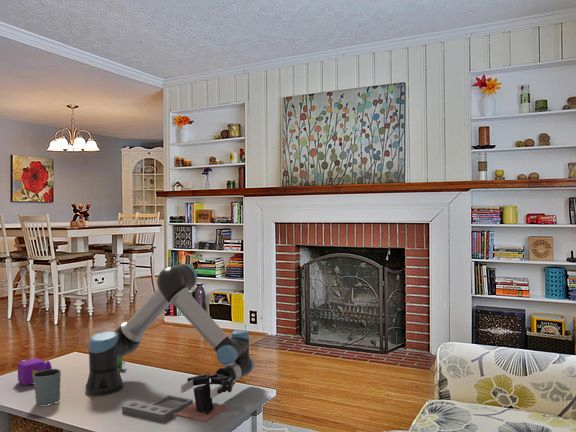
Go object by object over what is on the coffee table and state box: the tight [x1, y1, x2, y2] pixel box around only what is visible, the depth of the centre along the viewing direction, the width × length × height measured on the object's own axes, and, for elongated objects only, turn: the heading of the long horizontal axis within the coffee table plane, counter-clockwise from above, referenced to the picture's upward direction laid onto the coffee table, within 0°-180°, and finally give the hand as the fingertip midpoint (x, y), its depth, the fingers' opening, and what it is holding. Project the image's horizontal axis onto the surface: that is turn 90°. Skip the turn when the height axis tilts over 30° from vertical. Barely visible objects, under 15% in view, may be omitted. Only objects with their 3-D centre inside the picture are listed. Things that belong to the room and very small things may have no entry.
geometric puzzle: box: [118, 357, 126, 371], centre depth 237 cm, size 7×7×8 cm
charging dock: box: [121, 394, 194, 423], centre depth 189 cm, size 20×20×3 cm
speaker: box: [193, 382, 214, 415], centre depth 185 cm, size 8×6×10 cm
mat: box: [174, 401, 229, 422], centre depth 185 cm, size 14×14×1 cm
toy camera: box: [17, 358, 53, 386], centre depth 223 cm, size 11×14×10 cm
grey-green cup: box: [33, 368, 62, 405], centre depth 197 cm, size 10×10×12 cm
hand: (196, 391), depth 182 cm, fingers open, 13 cm apart
